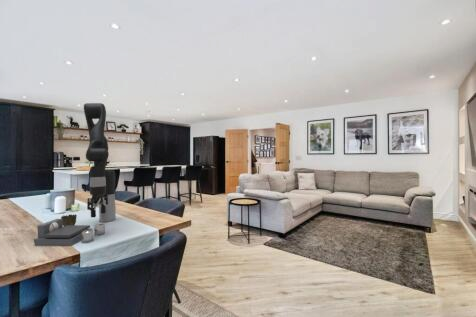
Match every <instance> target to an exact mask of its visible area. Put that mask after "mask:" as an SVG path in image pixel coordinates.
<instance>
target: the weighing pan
mask: <svg viewBox="0 0 476 317" xmlns="http://www.w3.org/2000/svg"><path fill="white" fill-rule="evenodd" d="M86 229H91V225H89V224H86V225H84V224H83V225H82V224H81V225H80V224H79V225H78V224H77V225H76V224H75V225H66V226H63V227H61V228H59V229H56V230H54V231H52V232H49V233H47V234H44V235H43V237H72V236H74V235H76V234H78V233H80V232H82V231H84V230H86Z"/></svg>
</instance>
